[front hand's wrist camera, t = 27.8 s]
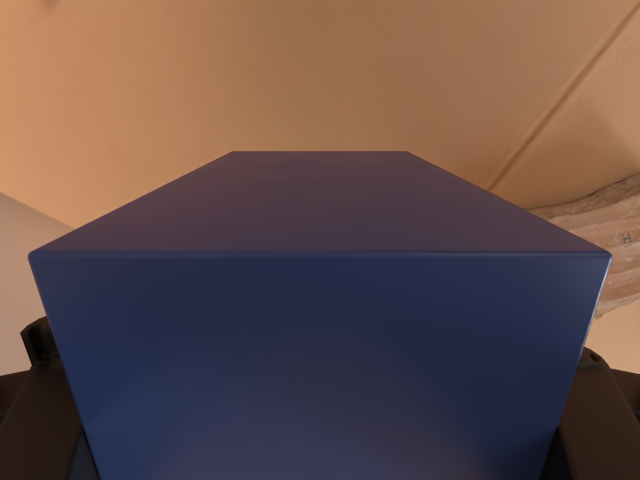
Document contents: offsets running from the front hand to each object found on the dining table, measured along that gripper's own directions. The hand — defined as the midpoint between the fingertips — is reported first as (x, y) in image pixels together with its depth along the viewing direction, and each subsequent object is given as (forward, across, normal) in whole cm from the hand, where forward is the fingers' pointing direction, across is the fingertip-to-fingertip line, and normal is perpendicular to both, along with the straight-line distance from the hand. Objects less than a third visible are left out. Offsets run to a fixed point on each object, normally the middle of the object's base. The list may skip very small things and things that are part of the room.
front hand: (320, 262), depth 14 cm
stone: (+15, -23, +4) cm, 28 cm away
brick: (+2, 0, 0) cm, 2 cm away
